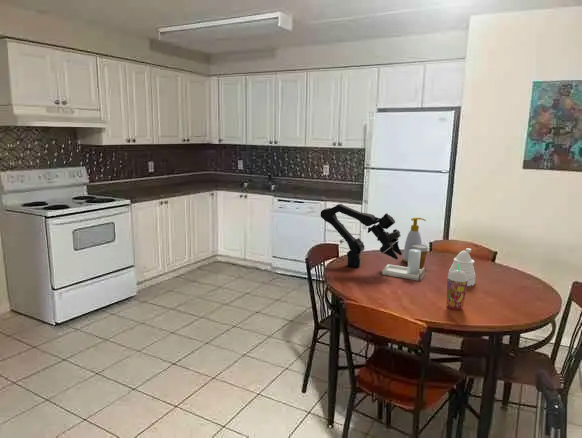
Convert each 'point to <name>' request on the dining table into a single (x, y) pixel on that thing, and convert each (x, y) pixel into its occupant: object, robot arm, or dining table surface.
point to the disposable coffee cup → (423, 252)
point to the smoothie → (456, 289)
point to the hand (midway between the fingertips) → (399, 256)
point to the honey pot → (465, 265)
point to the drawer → (402, 272)
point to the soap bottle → (412, 238)
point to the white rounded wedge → (414, 261)
